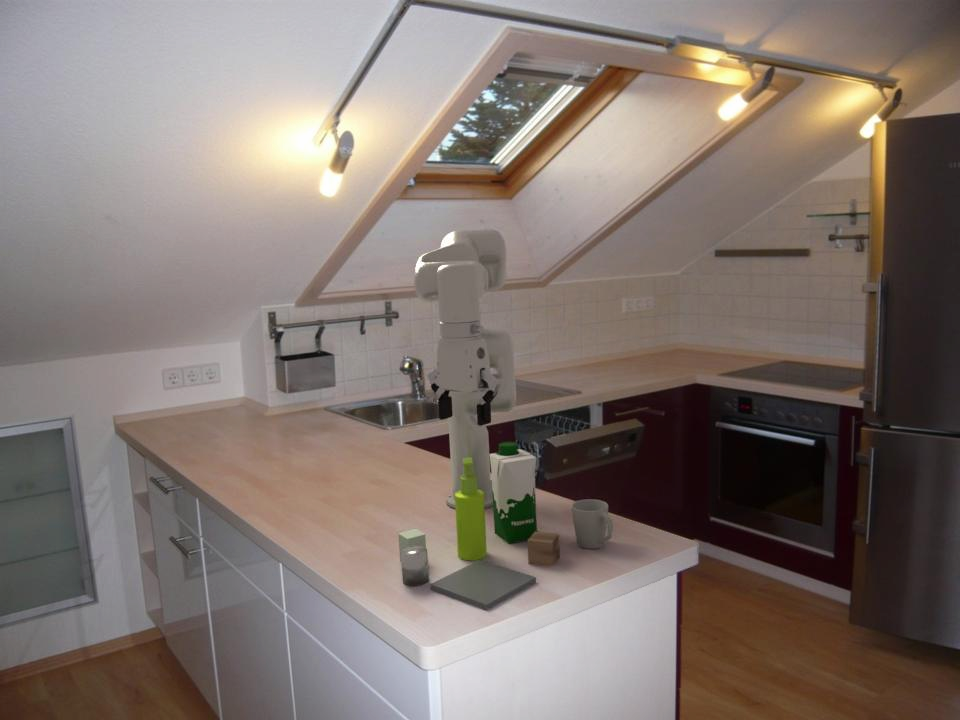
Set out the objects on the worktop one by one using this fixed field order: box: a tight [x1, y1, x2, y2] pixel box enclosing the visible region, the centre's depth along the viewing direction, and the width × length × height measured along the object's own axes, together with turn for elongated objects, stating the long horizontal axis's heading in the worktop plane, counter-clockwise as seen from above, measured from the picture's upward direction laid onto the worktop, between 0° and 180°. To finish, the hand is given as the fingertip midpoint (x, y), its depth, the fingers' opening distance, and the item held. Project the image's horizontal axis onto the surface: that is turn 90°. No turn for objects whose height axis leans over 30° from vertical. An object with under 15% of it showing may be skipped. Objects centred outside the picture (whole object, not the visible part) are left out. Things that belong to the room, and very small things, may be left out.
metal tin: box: [401, 546, 430, 587], centre depth 153 cm, size 5×5×6 cm
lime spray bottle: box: [455, 457, 487, 561], centre depth 163 cm, size 6×7×20 cm
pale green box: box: [397, 528, 427, 563], centre depth 162 cm, size 4×4×6 cm
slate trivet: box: [429, 559, 537, 611], centre depth 149 cm, size 14×14×1 cm
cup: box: [570, 498, 614, 550], centre depth 165 cm, size 8×10×8 cm
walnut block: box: [527, 530, 561, 567], centre depth 160 cm, size 5×5×5 cm
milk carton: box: [489, 441, 538, 544], centre depth 172 cm, size 9×9×20 cm
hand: (464, 421), depth 151 cm, fingers open, 9 cm apart
